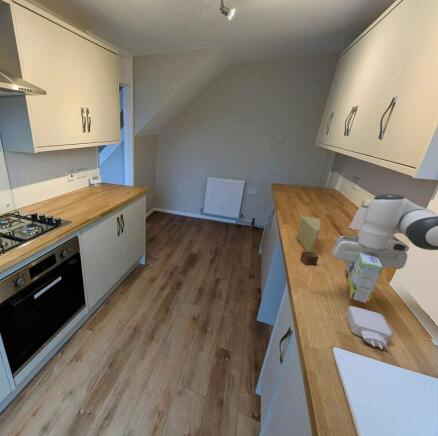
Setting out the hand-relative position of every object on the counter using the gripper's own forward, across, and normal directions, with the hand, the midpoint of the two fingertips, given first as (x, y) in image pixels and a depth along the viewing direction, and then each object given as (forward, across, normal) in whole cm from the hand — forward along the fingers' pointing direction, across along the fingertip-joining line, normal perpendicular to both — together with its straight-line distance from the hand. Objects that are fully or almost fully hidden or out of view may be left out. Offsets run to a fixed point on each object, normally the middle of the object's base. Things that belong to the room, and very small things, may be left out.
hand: (360, 272), depth 88 cm
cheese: (+13, -5, +46) cm, 48 cm away
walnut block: (+13, -9, +26) cm, 30 cm away
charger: (+13, -1, -19) cm, 23 cm away
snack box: (+6, 0, 0) cm, 6 cm away
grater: (+13, +35, +91) cm, 98 cm away
